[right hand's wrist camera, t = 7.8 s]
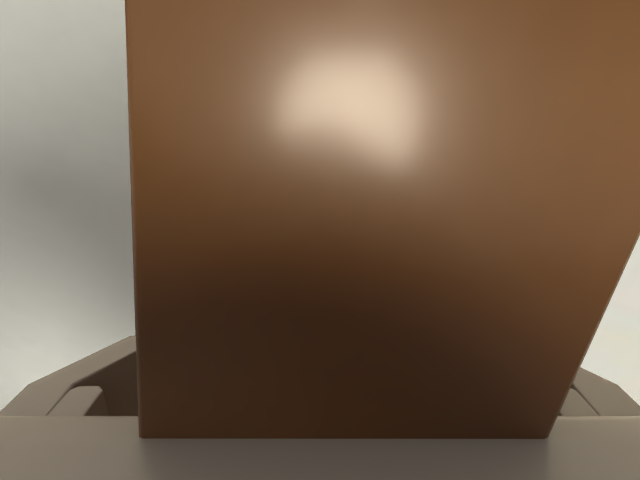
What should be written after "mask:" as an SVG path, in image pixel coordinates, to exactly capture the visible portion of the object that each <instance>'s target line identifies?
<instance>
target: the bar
mask: <svg viewBox="0 0 640 480" xmlns="http://www.w3.org/2000/svg"><path fill="white" fill-rule="evenodd" d="M125 16H126V47H127V79H128V110H129V142H130V173H131V205H132V236H133V268H134V299H135V330H136V362H137V393H138V425H139V437H140V438H143V439H545V438H548V437H549V434H550V432H551V430H552V428H553V425H554V423H555V421H556V419H557V417H558V414H559V412H560V410H561V408H562V406H563V403H564V401H565V399H566V397H567V395H568V392H569V390H570V388H571V386H572V383H573V381H574V379H575V377H576V375H577V372H578V370H579V368H580V366H581V364H582V361H583V359H584V357H585V355H586V353H587V350H588V348H589V346H590V344H591V341H592V339H593V337H594V335H595V333H596V330H597V328H598V326H599V324H600V322H601V319H602V317H603V315H604V313H605V311H606V308H607V306H608V304H609V302H610V300H611V297H612V295H613V293H614V291H615V288H616V286H617V284H618V282H619V280H620V277H621V275H622V273H623V271H624V269H625V266H626V264H627V262H628V260H629V258H630V255H631V253H632V251H633V249H634V246H635V244H636V242H637V240H638V238H639V235H640V0H125Z"/></svg>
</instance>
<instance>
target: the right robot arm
mask: <svg viewBox="0 0 640 480" xmlns="http://www.w3.org/2000/svg"><path fill="white" fill-rule="evenodd" d="M0 480H640V406H639V405H638V404H637V403H636V402H635V401H634V400H633V399H632V398H631V397H630V396H629V395H628V394H626V393H625V392H624V391H623V390H622V389H621V388H620V387H619V386H618V385H616V384H614V383H612V382H610V381H608V380H606V379H604V378H602V377H600V376H597V375H595V374H593V373H591V372H589V371H587V370H585V369H583V368H581V367H580V368H579V370H578V372H577V375H576V377H575V379H574V381H573V383H572V386H571V388H570V390H569V392H568V395H567V397H566V399H565V401H564V403H563V406H562V408H561V410H560V412H559V414H558V417H557V419H556V421H555V423H554V425H553V428H552V430H551V432H550V434H549V437H548V438H545V439H143V438H140V437H139V425H138V393H137V362H136V336H129V337H127V338H125V339H123V340H121V341H119V342H117V343H115V344H112V345H110V346H108V347H106V348H104V349H102V350H100V351H98V352H96V353H94V354H91V355H89V356H87V357H85V358H83V359H81V360H79V361H77V362H75V363H73V364H70V365H68V366H66V367H64V368H62V369H60V370H58V371H56V372H54V373H52V374H49V375H47V376H45V377H43V378H41V379H39V380H37V381H35V382H33V383H31V384H28V385H27V386H26V387H25V388H24V389H23V390H22V391H21V392H20V393H19V394H18V395H17V396H16V397H15V398H14V399H13V400H12V401H11V402H10V403H9V404H8V405H7V406H6V407H5V408H4V409H3V410H2V411H0Z"/></svg>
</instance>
